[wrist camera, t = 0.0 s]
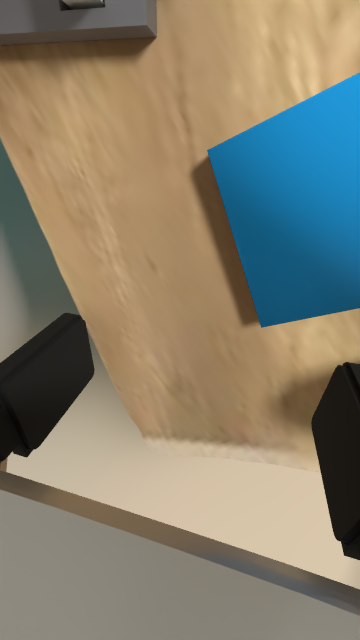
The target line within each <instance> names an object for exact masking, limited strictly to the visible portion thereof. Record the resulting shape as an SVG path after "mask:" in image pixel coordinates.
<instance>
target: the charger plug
mask: <svg viewBox="0 0 360 640" xmlns="http://www.w3.org/2000/svg"><path fill="white" fill-rule="evenodd" d="M62 1H63V2H65V3H66V4H67V5H68V6H69V7H71V8H72V9H73V10H79V9H91V8H104V7H105V0H62Z"/></svg>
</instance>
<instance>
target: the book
mask: <svg viewBox="0 0 360 640" xmlns="http://www.w3.org/2000/svg"><path fill="white" fill-rule="evenodd" d="M207 152H208V155H209V158H210V161H211V165H212V168H213V171H214V175H215V178H216V181H217V184H218V188H219V191H220V194H221V197H222V201H223V204H224V207H225V211H226V214H227V217H228V220H229V224H230V227H231V230H232V233H233V237H234V240H235V243H236V246H237V250H238V253H239V256H240V260H241V263H242V266H243V269H244V273H245V276H246V279H247V282H248V286H249V289H250V292H251V296H252V299H253V302H254V305H255V309H256V312H257V315H258V318H259V322H260V325H261V328H262V327H267V326H272V325H277V324H282V323H287V322H292V321H297V320H302V319H307V318H312V317H317V316H322V315H327V314H332V313H337V312H342V311H347V310H352V309H357V308H360V73H358V74H356V75H354V76H352V77H350V78H348V79H346V80H344V81H342V82H340V83H338V84H336V85H334V86H332V87H330V88H328V89H326V90H324V91H322V92H320V93H319V94H317V95H315V96H313V97H311V98H309V99H307V100H305V101H303V102H301V103H299V104H297V105H295V106H293V107H291V108H289V109H287V110H285V111H283V112H281V113H279V114H277V115H276V116H274V117H272V118H270V119H268V120H266V121H264V122H262V123H260V124H258V125H256V126H254V127H252V128H250V129H248V130H246V131H244V132H242V133H240V134H238V135H236V136H234V137H232V138H231V139H229V140H227V141H225V142H223V143H221V144H219V145H217V146H215V147H213V148H211V149H209V150H207Z"/></svg>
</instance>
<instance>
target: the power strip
mask: <svg viewBox="0 0 360 640" xmlns="http://www.w3.org/2000/svg"><path fill="white" fill-rule="evenodd" d="M148 37H157V29H156V0H105V7H104V8H91V9H79V10H73V9H72V8H71V7H69V6H68V5H67V4H66V3H65V2H63V1H62V0H0V45H16V44H34V43H53V42H72V41H91V40H110V39H129V38H148Z"/></svg>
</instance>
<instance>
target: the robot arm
mask: <svg viewBox="0 0 360 640" xmlns="http://www.w3.org/2000/svg"><path fill="white" fill-rule="evenodd" d="M93 375H94V365H93V360H92V354H91V349H90V344H89V338H88V333H87V328H86V323H85V321H84V320H83V319H82V317H81V316H80V315H76V314H70V313H64V314H63V315H61V316H60V317H59V318H57V319H56V320H55V321H54V322H52V323H51V324H50V325H49V326H47V327H46V328H45V329H44V330H42V331H41V332H40V333H38V334H37V335H36V336H34V337H33V338H32V339H31V340H29V341H28V342H27V343H25V344H24V345H23V346H22V347H20V348H19V349H18V350H16V351H15V352H14V353H13V354H11V355H10V356H9V357H8V358H7V359H5V360H4V361H2V362H1V363H0V640H360V590H359V589H356V588H354V587H351V586H348V585H345V584H342V583H340V582H337V581H334V580H331V579H328V578H325V577H322V576H320V575H317V574H314V573H311V572H308V571H305V570H302V569H300V568H297V567H294V566H291V565H288V564H285V563H282V562H279V561H276V560H273V559H270V558H267V557H264V556H261V555H258V554H255V553H252V552H249V551H246V550H243V549H240V548H237V547H234V546H231V545H228V544H225V543H222V542H219V541H216V540H213V539H210V538H207V537H204V536H201V535H198V534H195V533H192V532H189V531H186V530H183V529H180V528H177V527H174V526H171V525H168V524H165V523H162V522H158V521H156V520H152V519H150V518H146V517H143V516H140V515H137V514H134V513H131V512H128V511H125V510H122V509H119V508H116V507H113V506H110V505H107V504H103V503H100V502H97V501H94V500H91V499H88V498H85V497H82V496H79V495H76V494H73V493H70V492H66V491H63V490H60V489H57V488H54V487H51V486H48V485H45V484H42V483H38V482H35V481H32V480H29V479H26V478H23V477H20V476H17V475H13V474H10V473H7V472H6V468H7V457H8V456H9V455H10V453H11V452H12V451H13V453H14V454H17V455H20V456H23V457H28V456H29V454H30V453H31V452H32V451H33V449H36V448H38V447H39V446H40V445H41V444H42V442H43V441H44V440H45V438H46V437H47V436H48V434H49V433H50V432H51V431H52V429H53V428H54V427H55V425H56V424H57V423H58V421H59V420H60V419H61V418H62V416H63V415H64V414H65V412H66V411H67V410H68V408H69V407H70V406H71V404H72V403H73V402H74V401H75V399H76V398H77V397H78V395H79V394H80V393H81V392H82V390H83V389H84V388H85V386H86V385H87V384H88V382H89V381H90V380H91V378H92V377H93ZM312 431H313V436H314V441H315V446H316V451H317V455H318V460H319V465H320V470H321V475H322V480H323V485H324V489H325V494H326V499H327V504H328V508H329V514H330V518H331V523H332V528H333V532H334V536H335V538H336V539H337V540H338V541H341V544H342V548H343V552H344V556H348V557H351V558H354V559H357V560H360V364H355V363H349V362H345V363H344V364H343V365H342V366H341V365H338V366H337V367H336V369H335V371H334V373H333V375H332V377H331V379H330V382H329V384H328V386H327V388H326V390H325V392H324V394H323V396H322V398H321V400H320V402H319V405H318V407H317V409H316V411H315V413H314V415H313V417H312Z"/></svg>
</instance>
